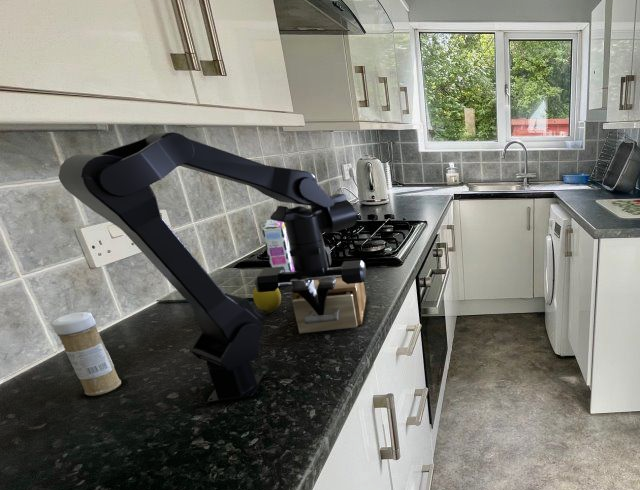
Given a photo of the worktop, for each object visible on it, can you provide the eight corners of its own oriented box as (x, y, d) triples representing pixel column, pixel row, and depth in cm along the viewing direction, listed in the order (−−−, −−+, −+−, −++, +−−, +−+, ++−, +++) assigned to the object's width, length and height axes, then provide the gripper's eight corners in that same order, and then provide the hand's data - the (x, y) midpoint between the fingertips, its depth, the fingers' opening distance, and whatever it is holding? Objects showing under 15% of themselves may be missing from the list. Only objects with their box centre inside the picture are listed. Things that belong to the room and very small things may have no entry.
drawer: (355, 337, 83) (349, 304, 81) (294, 344, 81) (286, 310, 78) (362, 302, 100) (357, 274, 97) (311, 307, 97) (305, 278, 94)
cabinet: (361, 324, 90) (355, 286, 87) (299, 331, 87) (291, 292, 84) (366, 299, 103) (361, 265, 100) (312, 304, 101) (305, 269, 97)
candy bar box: (295, 284, 113) (282, 226, 107) (274, 287, 111) (260, 228, 105) (296, 272, 122) (284, 217, 116) (277, 274, 120) (264, 219, 114)
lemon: (272, 318, 93) (264, 286, 90) (252, 316, 94) (243, 284, 91) (289, 308, 98) (282, 277, 95) (269, 306, 99) (262, 275, 96)
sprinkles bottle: (122, 377, 72) (92, 308, 67) (121, 389, 68) (89, 318, 63) (86, 387, 69) (52, 316, 64) (83, 400, 66) (47, 326, 61)
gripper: (362, 225, 85) (372, 293, 91) (262, 231, 80) (280, 302, 87) (357, 241, 75) (369, 316, 81) (243, 249, 70) (266, 328, 77)
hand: (321, 314), depth 82 cm, fingers closed, pressing on drawer
